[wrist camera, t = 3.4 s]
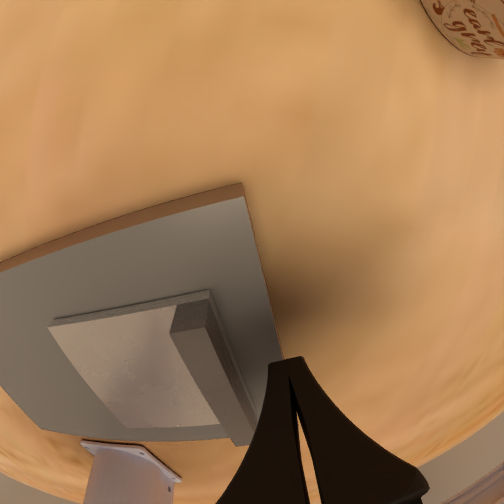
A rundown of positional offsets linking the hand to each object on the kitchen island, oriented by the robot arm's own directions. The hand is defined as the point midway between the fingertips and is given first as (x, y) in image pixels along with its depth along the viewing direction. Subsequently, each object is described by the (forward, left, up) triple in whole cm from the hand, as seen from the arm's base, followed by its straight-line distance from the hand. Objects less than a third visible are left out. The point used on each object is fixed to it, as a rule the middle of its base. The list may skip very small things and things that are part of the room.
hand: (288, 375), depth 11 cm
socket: (0, +11, -4) cm, 12 cm away
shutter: (0, +6, -1) cm, 6 cm away
